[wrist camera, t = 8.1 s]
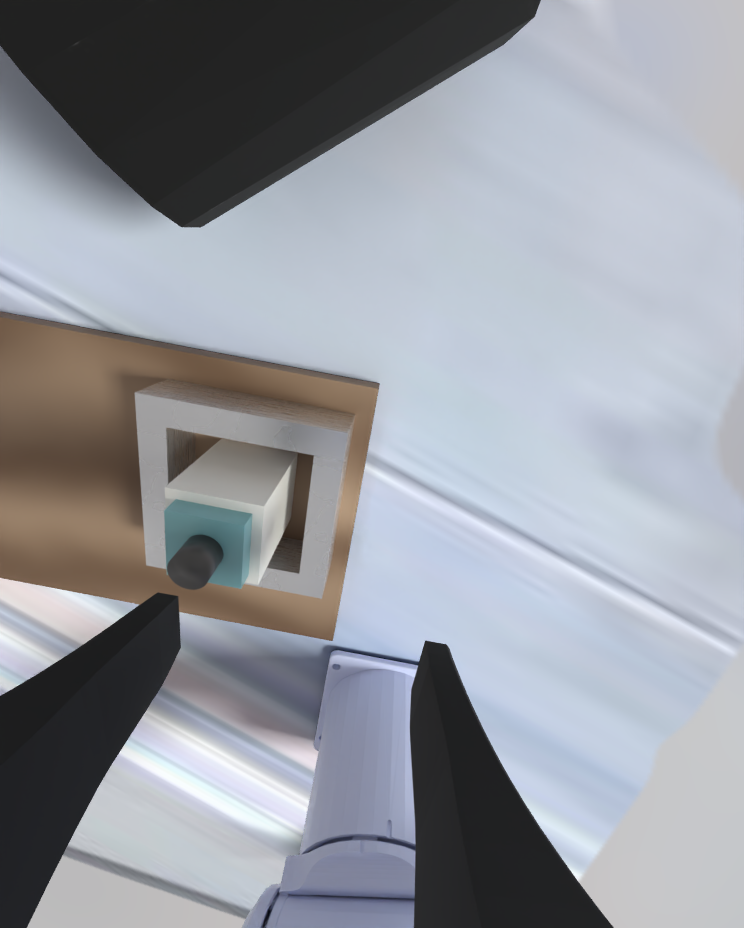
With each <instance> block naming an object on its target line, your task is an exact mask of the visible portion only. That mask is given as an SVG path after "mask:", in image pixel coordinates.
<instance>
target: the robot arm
mask: <svg viewBox="0 0 744 928" xmlns="http://www.w3.org/2000/svg"><path fill="white" fill-rule="evenodd" d="M180 648H181V645H180V622H179V599H178V596H175V595H170V594H164V593H159V592H157V593H156V594H154V595H153V596H152V597H150V598H149V599H147V600H146V601H144V602H143V603H142V604H140V605H139V606H137V607H136V608H135V609H133V610H132V611H131V612H129V613H128V614H126V615H125V616H124V617H122V618H121V619H119V620H118V621H117V622H115V623H114V624H112V625H111V626H110V627H108V628H107V629H105V630H104V631H102V632H101V633H100V634H98V635H97V636H95V637H94V638H92V639H91V640H89V641H88V642H87V643H85V644H84V645H82V646H81V647H79V648H78V649H76V650H75V651H73V652H72V653H70V654H69V655H67V656H65V657H64V658H62V659H61V660H59V661H58V662H56V663H54V664H53V665H51V666H50V667H48V668H47V669H45V670H44V671H42V672H40V673H39V674H37V675H35V676H34V677H32V678H30V679H29V680H27V681H25V682H24V683H22V684H20V685H19V686H17V687H15V688H14V689H12V690H10V691H8V692H6V693H5V694H3V695H1V696H0V928H27V926H28V924H29V922H30V920H31V918H32V916H33V914H34V912H35V909H36V908H37V906H38V904H39V901H40V899H41V897H42V895H43V893H44V891H45V889H46V887H47V885H48V883H49V881H50V879H51V877H52V875H53V873H54V871H55V869H56V867H57V865H58V863H59V861H60V859H61V857H62V855H63V853H64V851H65V849H66V847H67V845H68V843H69V842H70V840H71V838H72V836H73V834H74V832H75V830H76V828H77V826H78V824H79V822H80V820H81V818H82V817H83V815H84V813H85V811H86V809H87V807H88V805H89V803H90V802H91V800H92V798H93V796H94V794H95V792H96V790H97V788H98V787H99V785H100V783H101V781H102V780H103V778H104V776H105V775H106V773H107V771H108V770H109V768H110V766H111V765H112V763H113V761H114V760H115V758H116V757H117V755H118V754H119V752H120V751H121V749H122V747H123V746H124V744H125V743H126V741H127V740H128V738H129V736H130V735H131V733H132V732H133V730H134V729H135V727H136V725H137V724H138V722H139V721H140V719H141V718H142V716H143V715H144V713H145V711H146V710H147V708H148V707H149V705H150V703H151V702H152V700H153V699H154V697H155V696H156V694H157V692H158V691H159V689H160V687H161V686H162V684H163V682H164V680H165V679H166V677H167V675H168V673H169V671H170V669H171V667H172V665H173V662H174V660H175V658H176V656H177V654H178V652H179V650H180ZM314 748H315V749H316V750H317V751H319V752H318V758H317V763H316V768H315V773H314V779H313V784H312V789H311V795H310V800H309V805H308V811H307V816H306V821H305V827H304V832H303V837H302V843H301V848H300V853H299V855H296V856H287V857H286V862H285V867H284V872H283V876H282V881H281V884H273V885H270V886H269V887H268V888H266V890H265V891H264V892H263V894H262V895H261V896H260V898H259V899H258V901H257V903H256V904H255V906H254V907H253V908H252V909H251V911H250V912H249V914H248V916H247V918H246V920H245V922H244V924H243V926H242V928H613V926H612V925H611V924H610V923H609V921H608V920H607V919H606V918H605V916H604V915H603V914H602V912H601V911H600V910H599V909H598V907H597V906H596V905H595V903H594V902H593V901H592V899H591V898H590V897H589V895H588V894H587V893H586V891H585V890H584V889H583V887H582V886H581V885H580V883H579V882H578V881H577V879H576V878H575V877H574V875H573V874H572V872H571V871H570V870H569V868H568V867H567V865H566V864H565V862H564V861H563V860H562V858H561V857H560V855H559V854H558V852H557V851H556V850H555V848H554V847H553V845H552V844H551V842H550V841H549V840H548V838H547V837H546V835H545V834H544V832H543V831H542V829H541V828H540V826H539V825H538V823H537V822H536V820H535V819H534V817H533V816H532V814H531V812H530V811H529V809H528V808H527V806H526V805H525V803H524V801H523V800H522V798H521V796H520V795H519V793H518V791H517V790H516V788H515V786H514V785H513V783H512V781H511V780H510V778H509V776H508V775H507V773H506V771H505V769H504V767H503V766H502V764H501V762H500V760H499V758H498V756H497V755H496V753H495V751H494V749H493V747H492V745H491V743H490V741H489V739H488V737H487V735H486V733H485V731H484V729H483V727H482V725H481V723H480V721H479V719H478V717H477V715H476V713H475V710H474V708H473V706H472V704H471V702H470V700H469V697H468V695H467V693H466V690H465V688H464V686H463V683H462V681H461V678H460V676H459V673H458V671H457V668H456V666H455V663H454V660H453V658H452V655H451V652H450V649H449V647H448V646H447V645H446V644H441V643H435V642H430V641H425V644H424V647H423V651H422V654H421V657H420V661H419V664H418V665H413V664H408V663H403V662H397V661H392V660H387V659H382V658H376V657H371V656H366V655H361V654H355V653H350V652H345V651H340V650H336V651H333V652H332V653H331V654H330V659H329V664H328V670H327V675H326V681H325V686H324V692H323V697H322V703H321V708H320V714H319V719H318V725H317V730H316V736H315V741H314Z"/></svg>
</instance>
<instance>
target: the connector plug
mask: <svg viewBox="0 0 744 928" xmlns="http://www.w3.org/2000/svg"><path fill="white" fill-rule="evenodd" d="M297 457H298V453H296V452H290V451H285V450H280V449H275V448H269V447H264V446H259V445H254V444H249V443H243V442H238V441H233V440H228V439H223V438H222V439H221V440H219V441H218V442H217V443H216V444H215V445H214V446H212V447H211V448H210V449H209V450H208V451H207V452H205V453H204V454H203V455H202V456H201V457H200V458H198V459H197V460H196V461H195V462H194V463H193V464H191V465H190V466H189V467H188V468H187V469H185V470H184V471H183V472H182V473H181V474H180V475H178V476H177V477H176V478H175V479H174V480H173V481H171V482H170V483H169V484H168V485H167V486H166V487H165V510H164V521H165V546H166V571H167V575H169V577H170V578H171V580H172V581H173V582H174V583H175V584H177V585H178V586H180V587H182V588H185V589H189V590H196V589H200V588H202V587H204V586H205V585H206V584H207V583H212V584H218V585H223V586H228V587H233V588H238V589H241V588H242V586H243V585H244V583H251V584H256V585H258V584H259V582H260V580H261V578H262V576H263V574H264V572H265V570H266V568H267V566H268V564H269V562H270V560H271V558H272V556H273V554H274V552H275V550H276V547H277V545H278V543H279V541H280V539H281V537H282V535H283V533H284V531H285V529H286V527H287V525H288V523H289V521H290V519H291V512H292V503H293V494H294V485H295V475H296V466H297Z"/></svg>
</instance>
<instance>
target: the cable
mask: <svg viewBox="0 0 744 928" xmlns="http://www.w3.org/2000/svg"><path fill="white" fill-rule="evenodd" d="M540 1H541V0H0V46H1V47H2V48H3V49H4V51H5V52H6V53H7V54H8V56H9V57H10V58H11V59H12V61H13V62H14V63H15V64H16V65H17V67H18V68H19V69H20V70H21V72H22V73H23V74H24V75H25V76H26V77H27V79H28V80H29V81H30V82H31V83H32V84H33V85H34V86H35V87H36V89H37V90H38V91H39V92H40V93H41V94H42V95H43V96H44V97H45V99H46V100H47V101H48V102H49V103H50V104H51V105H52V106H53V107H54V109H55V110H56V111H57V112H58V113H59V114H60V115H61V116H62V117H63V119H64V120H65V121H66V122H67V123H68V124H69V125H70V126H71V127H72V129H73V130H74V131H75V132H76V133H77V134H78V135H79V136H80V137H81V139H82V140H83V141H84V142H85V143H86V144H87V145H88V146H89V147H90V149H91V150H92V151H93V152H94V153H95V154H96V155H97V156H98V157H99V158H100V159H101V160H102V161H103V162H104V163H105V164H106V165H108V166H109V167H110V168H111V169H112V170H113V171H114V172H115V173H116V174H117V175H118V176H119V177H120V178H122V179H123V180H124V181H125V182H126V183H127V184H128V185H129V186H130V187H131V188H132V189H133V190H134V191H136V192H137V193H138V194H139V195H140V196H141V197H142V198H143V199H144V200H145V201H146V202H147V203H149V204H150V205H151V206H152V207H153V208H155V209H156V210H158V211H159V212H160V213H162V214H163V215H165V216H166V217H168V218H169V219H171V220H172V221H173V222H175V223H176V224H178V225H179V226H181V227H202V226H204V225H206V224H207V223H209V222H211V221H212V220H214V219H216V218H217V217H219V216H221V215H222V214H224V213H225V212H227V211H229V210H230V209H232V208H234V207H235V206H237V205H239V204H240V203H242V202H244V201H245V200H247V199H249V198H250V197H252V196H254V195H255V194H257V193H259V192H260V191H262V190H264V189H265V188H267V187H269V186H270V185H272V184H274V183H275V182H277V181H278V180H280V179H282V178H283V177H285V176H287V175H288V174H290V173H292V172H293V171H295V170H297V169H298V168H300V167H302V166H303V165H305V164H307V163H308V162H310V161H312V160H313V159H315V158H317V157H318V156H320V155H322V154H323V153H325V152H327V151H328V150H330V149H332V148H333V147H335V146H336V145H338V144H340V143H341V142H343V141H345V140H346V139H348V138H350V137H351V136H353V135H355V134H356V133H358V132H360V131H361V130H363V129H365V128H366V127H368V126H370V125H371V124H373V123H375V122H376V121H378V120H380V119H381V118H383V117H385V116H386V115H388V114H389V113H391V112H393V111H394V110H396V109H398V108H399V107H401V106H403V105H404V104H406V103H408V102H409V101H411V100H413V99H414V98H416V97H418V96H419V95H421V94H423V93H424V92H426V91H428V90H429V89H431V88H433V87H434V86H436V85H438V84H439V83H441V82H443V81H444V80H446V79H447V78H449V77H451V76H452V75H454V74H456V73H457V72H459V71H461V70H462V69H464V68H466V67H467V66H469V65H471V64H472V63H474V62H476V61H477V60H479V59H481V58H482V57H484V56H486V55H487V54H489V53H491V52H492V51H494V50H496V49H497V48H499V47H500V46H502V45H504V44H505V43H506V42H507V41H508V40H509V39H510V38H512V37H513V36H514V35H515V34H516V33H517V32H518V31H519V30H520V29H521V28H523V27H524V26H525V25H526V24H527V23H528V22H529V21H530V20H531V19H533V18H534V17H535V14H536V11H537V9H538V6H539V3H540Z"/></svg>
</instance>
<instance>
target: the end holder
mask: <svg viewBox="0 0 744 928" xmlns="http://www.w3.org/2000/svg"><path fill="white" fill-rule="evenodd" d="M135 407H136V422H137V436H138V451H139V466H140V481H141V495H142V510H143V525H144V540H145V555H146V565H147V566H152V567H158V568H163V569H166V546H165V521H164V510H165V487H166V486H167V485H168V484H169V483H170V482H171V481H173V480H174V479H175V478H176V477H177V476H178V475H180V474H181V473H182V472H183V471H184V470H185V469H187V468H188V467H189V466H190V465H191V464H193V463H194V462H195V461H196V452H195V433H199V434H204V435H209V436H214V437H220V438H225V439H230V440H235V441H241V442H246V443H251V444H256V445H262V446H267V447H272V448H277V449H283V450H288V451H293V452H299V453H304V454H309V455H314V459H313V467H312V475H311V483H310V491H309V499H308V507H307V515H306V523H305V531H304V539H303V541H301V540H295V539H290V538H285V537H281V539H280V541H279V543H278V545H277V547H276V550H275V552H274V554H273V556H272V558H271V560H270V562H269V564H268V566H267V568H266V570H265V572H264V574H263V576H262V578H261V580H260V582H259V584H258V585H256V584H251V583H244V584H247V585H252V586H257V587H263V588H268V589H273V590H278V591H284V592H289V593H294V594H299V595H305V596H310V597H315V598H320V599H322V596H323V592H324V589H325V585H326V581H327V578H328V574H329V570H330V566H331V561H332V555H333V549H334V542H335V536H336V530H337V524H338V518H339V512H340V505H341V499H342V493H343V487H344V481H345V475H346V468H347V462H348V456H349V450H350V444H351V438H352V431H353V425H354V419H355V414H352V413H347V412H342V411H336V410H331V409H326V408H320V407H315V406H310V405H305V404H299V403H294V402H289V401H284V400H278V399H273V398H268V397H263V396H257V395H252V394H247V393H242V392H236V391H231V390H226V389H220V388H215V387H210V386H205V385H199V384H194V383H189V382H184V381H178V380H173V379H166V380H164V381H161V382H159V383H157V384H154V385H152V386H149V387H147V388H145V389H142V390H140V391H137V392H135Z"/></svg>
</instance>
